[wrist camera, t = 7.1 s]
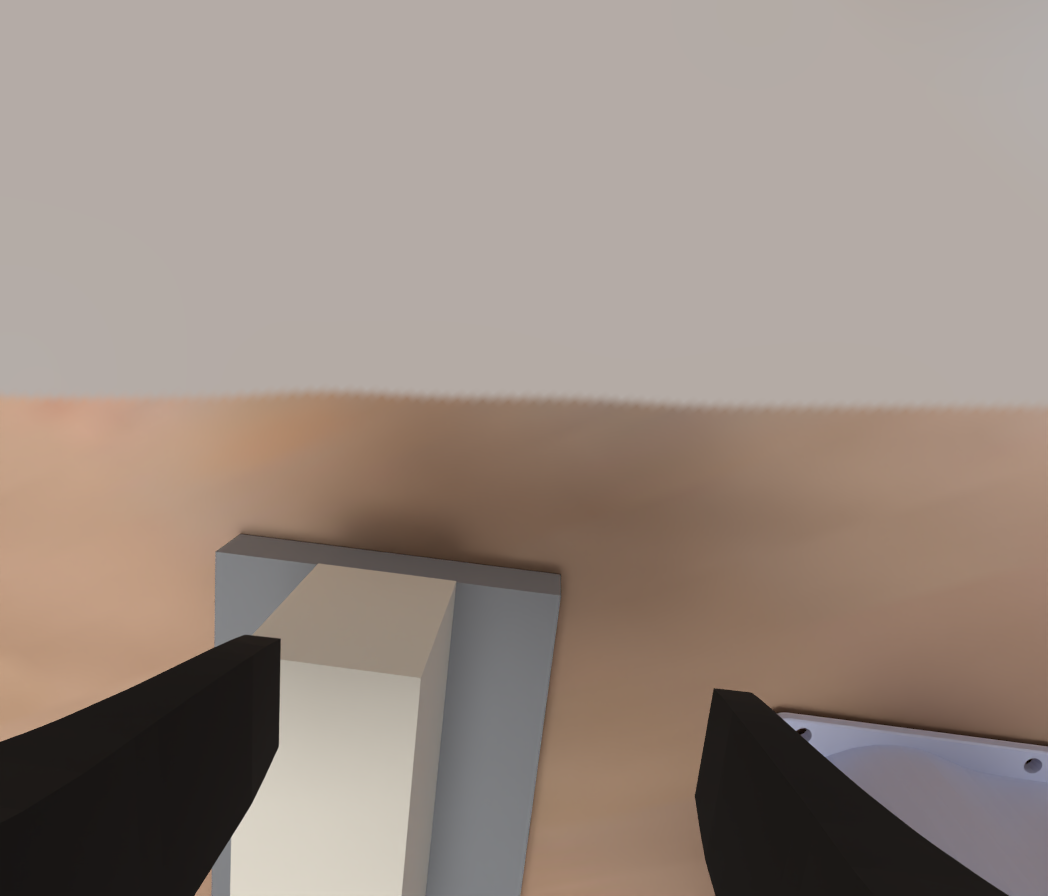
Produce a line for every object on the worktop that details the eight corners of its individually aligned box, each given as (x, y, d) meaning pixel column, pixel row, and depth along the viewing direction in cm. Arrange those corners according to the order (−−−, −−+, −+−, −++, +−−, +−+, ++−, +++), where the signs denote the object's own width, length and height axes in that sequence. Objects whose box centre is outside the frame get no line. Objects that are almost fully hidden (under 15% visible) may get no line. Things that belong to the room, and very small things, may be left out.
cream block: (456, 580, 19) (420, 678, 14) (425, 898, 21) (385, 1075, 16) (318, 563, 19) (235, 653, 14) (302, 880, 21) (227, 1051, 16)
